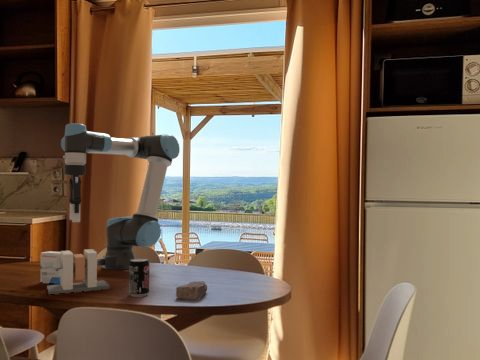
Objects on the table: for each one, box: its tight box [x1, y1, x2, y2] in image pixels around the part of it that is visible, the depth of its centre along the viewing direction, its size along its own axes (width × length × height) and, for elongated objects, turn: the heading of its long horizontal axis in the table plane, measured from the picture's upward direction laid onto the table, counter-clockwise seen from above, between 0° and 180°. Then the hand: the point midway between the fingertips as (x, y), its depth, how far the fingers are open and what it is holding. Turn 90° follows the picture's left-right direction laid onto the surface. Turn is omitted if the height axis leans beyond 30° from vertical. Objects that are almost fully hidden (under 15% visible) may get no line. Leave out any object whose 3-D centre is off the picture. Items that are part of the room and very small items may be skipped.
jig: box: [46, 248, 110, 296], centre depth 153 cm, size 20×10×13 cm, turn 119°
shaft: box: [60, 255, 116, 269], centre depth 154 cm, size 19×4×4 cm, turn 119°
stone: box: [175, 280, 208, 301], centre depth 143 cm, size 12×9×5 cm
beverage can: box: [128, 257, 150, 298], centre depth 144 cm, size 7×7×12 cm
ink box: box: [39, 250, 61, 285], centre depth 163 cm, size 9×5×12 cm, turn 71°
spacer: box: [73, 253, 85, 281], centre depth 153 cm, size 3×8×8 cm, turn 28°
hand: (74, 220), depth 159 cm, fingers open, 13 cm apart
